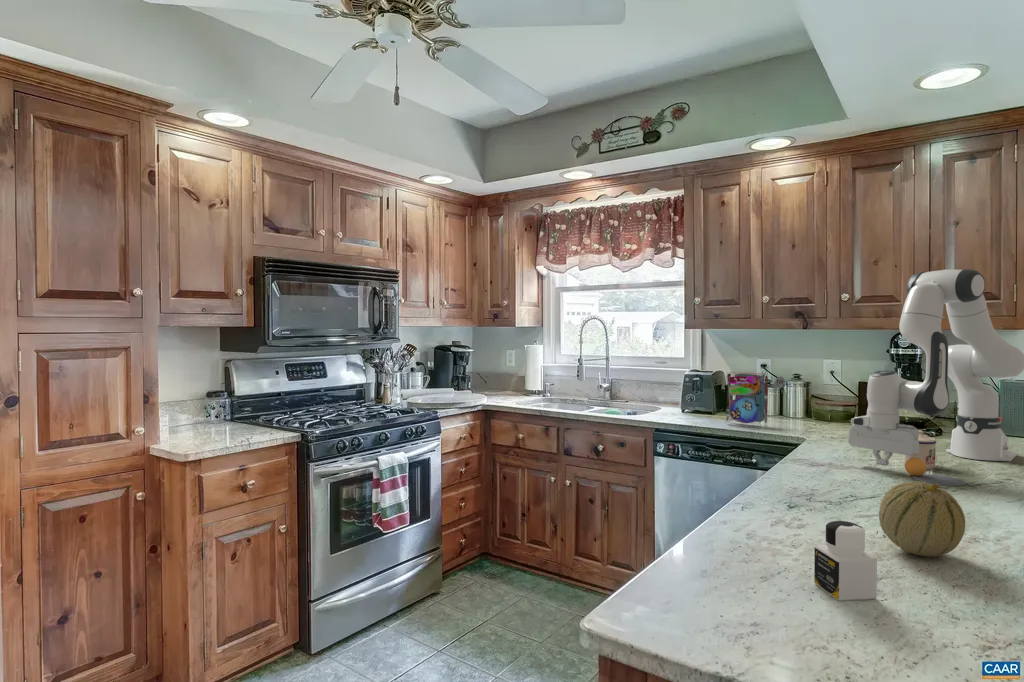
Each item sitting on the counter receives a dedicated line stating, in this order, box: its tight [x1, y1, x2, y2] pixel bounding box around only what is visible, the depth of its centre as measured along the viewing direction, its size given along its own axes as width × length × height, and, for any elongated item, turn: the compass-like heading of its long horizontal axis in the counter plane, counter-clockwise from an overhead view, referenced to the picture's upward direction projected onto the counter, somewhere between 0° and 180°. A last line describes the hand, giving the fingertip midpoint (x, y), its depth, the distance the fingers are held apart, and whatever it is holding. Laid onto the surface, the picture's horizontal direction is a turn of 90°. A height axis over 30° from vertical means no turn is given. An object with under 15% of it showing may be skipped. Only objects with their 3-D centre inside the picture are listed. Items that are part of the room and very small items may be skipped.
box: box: [725, 371, 786, 429], centre depth 272 cm, size 25×6×24 cm, turn 50°
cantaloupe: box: [878, 480, 967, 558], centre depth 123 cm, size 15×15×15 cm
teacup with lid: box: [902, 429, 937, 470], centre depth 198 cm, size 12×9×12 cm
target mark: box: [912, 473, 967, 487], centre depth 179 cm, size 13×13×1 cm
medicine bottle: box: [813, 520, 878, 602], centre depth 106 cm, size 7×7×12 cm
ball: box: [904, 458, 927, 477], centre depth 184 cm, size 6×6×6 cm
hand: (882, 464), depth 193 cm, fingers closed
